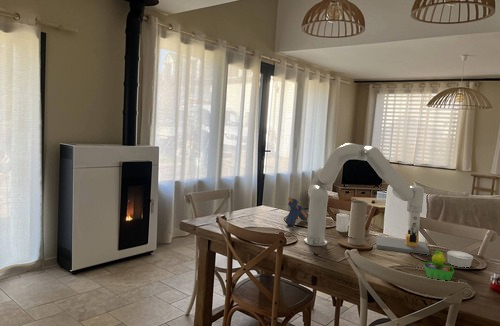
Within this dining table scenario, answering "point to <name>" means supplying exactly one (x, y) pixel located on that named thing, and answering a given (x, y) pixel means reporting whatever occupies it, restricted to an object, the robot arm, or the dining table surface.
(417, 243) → the orange cube
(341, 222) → the white cup
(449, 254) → the ramekin
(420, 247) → the grey flat board
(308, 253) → the dining table surface
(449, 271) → the fruit basket
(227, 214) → the dining table surface
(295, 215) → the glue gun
